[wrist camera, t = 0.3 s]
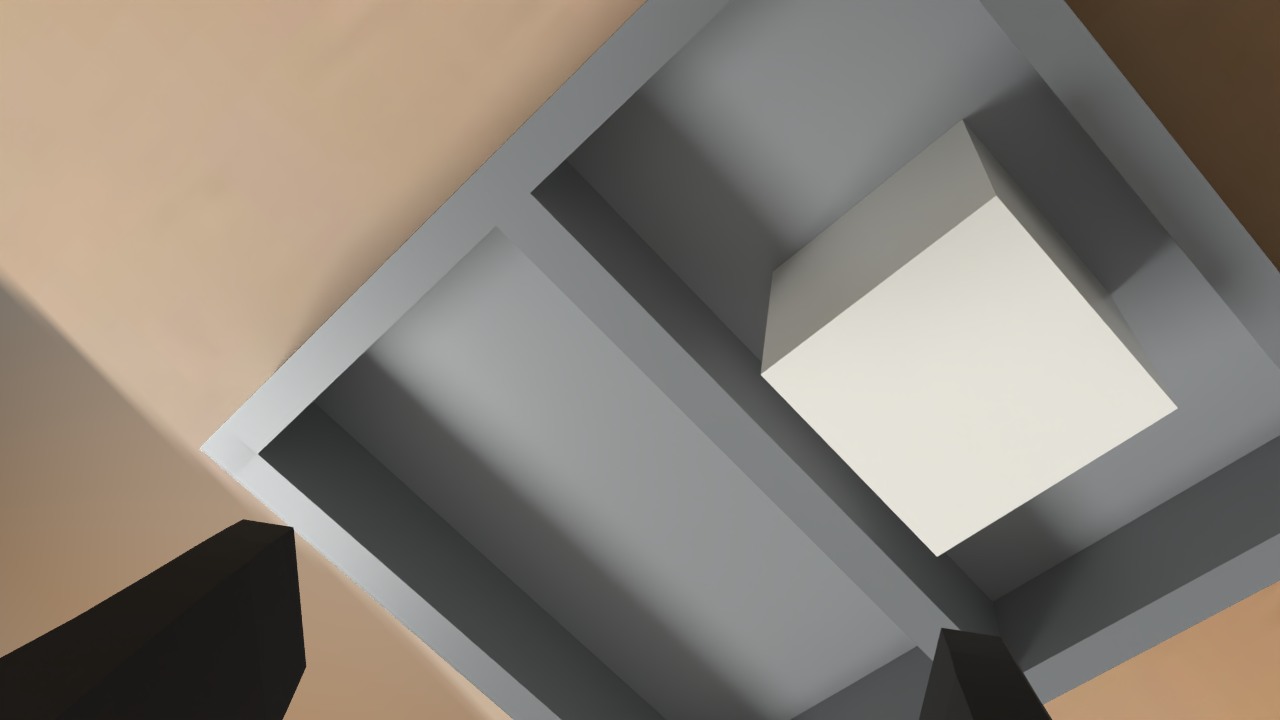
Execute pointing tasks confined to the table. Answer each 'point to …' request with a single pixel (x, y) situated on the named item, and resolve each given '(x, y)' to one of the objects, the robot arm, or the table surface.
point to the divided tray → (763, 382)
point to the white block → (955, 345)
